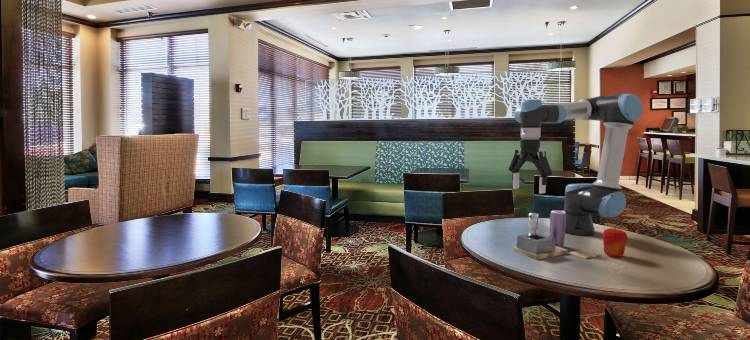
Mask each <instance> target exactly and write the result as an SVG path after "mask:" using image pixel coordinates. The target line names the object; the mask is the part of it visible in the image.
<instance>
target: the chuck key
mask: <svg viewBox="0 0 750 340" xmlns="http://www.w3.org/2000/svg"><path fill="white" fill-rule="evenodd" d="M539 217H540V213H536V212H530V213H528V214H527V218H528V225H527V226H528V231H527V232H528V233H527V234H531V233H538V229H539ZM538 234H539V233H538Z"/></svg>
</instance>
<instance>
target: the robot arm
mask: <svg viewBox="0 0 750 340" xmlns="http://www.w3.org/2000/svg"><path fill="white" fill-rule="evenodd" d="M643 111H644V107H643V103H642V101H641V99H640V98H639V96H638V95H636V94H633V93H619V94H610V95H609V94H608V95H600V96H594V97H590V98H583V99H580V100H578V101H573V102H560V103H548V104H542V100H541V99H538V98H537V99H532V98H531V99H524V100H522V101H521V106H518V107H517V108H516V109H515V111H514V119H515V121H516V122H518V123H519V124H520V138H521V139H520V143H519V147H520V148H519V149H515V150H514V155H513V158H512V160H511V161H510V162H511V163H510V165H509V167H508V172H511V173H512V189H514V190H515V189H520V172H519V171H520V170H521V168H522V167H523V166H524V164H525V163H526V162H529V163H532V164H534V166H535V167H536V169H537V172H539V174H540V176H539V183H538V184H539V187H538V190H539V191H538V194H540V195H541V194H546V188H547V185H548V177H551V176H553V172H552V169H551V167H550V164H549V161H548V158H547V151H545V150H543V151H540V150H539V149H540V148H541V139H540V138H541V134H542V131H541V130H542V129H541V127H542V124H560V123H562V122H563V121H566V120H575V119H577V120H580V121H598V122H602V124H603V126H604V127H605V132H604V133H605V134H604V137H603V138H604V139H603V144H602V149H601V155H600V162H599V165H598V171H597V177H596V180H595V181H593V183H569V184H567V185H566V186H565V192H564V205H563V206H564V207H563V211H565V212H566V225H565V234H571V235H577V236H590V235H594V234H595V227H594V223H593V219H592V214H593V215H597V216H601V217H605V218H615V217H618V216H619V215H620V214H622V213H623V211H624V210H625V207H626V204H627V198H626V196H625V194H624V193H623V192H622V191H623V190H622V189H623V187H622V186H621V185H620V178H621V172H622V167H623V161H624V156H625V150H626V145H627V140H628V139H627V138H628V133H629V130H630V129H631V128H633V127H634V124H635V122H636V121H638V120H640V119H641V117H642V115H643Z"/></svg>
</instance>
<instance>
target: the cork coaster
mask: <svg viewBox="0 0 750 340" xmlns="http://www.w3.org/2000/svg"><path fill="white" fill-rule="evenodd" d="M568 254H570V255H572V256H575V257H578V258H581V259H584V260H586V259H591V258H592V259H593V258H597V257H598V254H595V253H593V252H590V251H586V250H582V249H579V250H573V251H570V252H568Z"/></svg>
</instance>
